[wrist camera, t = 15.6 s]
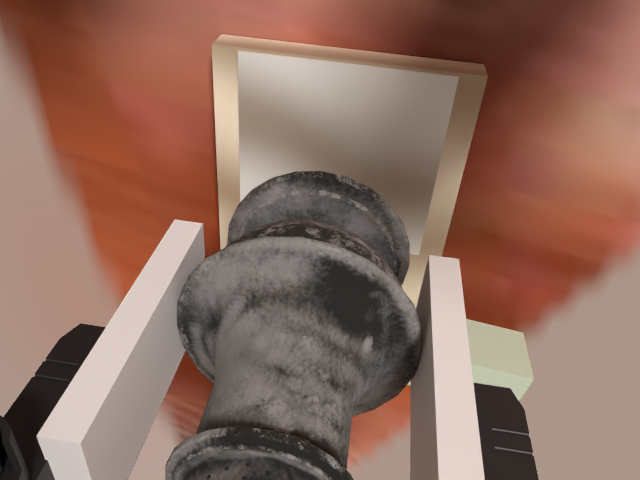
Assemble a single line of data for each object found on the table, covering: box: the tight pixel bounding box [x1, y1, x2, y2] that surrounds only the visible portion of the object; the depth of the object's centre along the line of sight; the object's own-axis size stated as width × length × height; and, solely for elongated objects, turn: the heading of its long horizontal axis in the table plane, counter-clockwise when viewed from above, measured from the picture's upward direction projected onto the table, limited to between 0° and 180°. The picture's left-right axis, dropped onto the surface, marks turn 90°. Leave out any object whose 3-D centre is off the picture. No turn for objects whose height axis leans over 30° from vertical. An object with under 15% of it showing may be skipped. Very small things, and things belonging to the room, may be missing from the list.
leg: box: [407, 306, 534, 401], centre depth 22 cm, size 12×3×3 cm, turn 79°
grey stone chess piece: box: [166, 171, 423, 480], centre depth 11 cm, size 6×6×12 cm
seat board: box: [212, 34, 488, 307], centre depth 21 cm, size 12×9×4 cm
